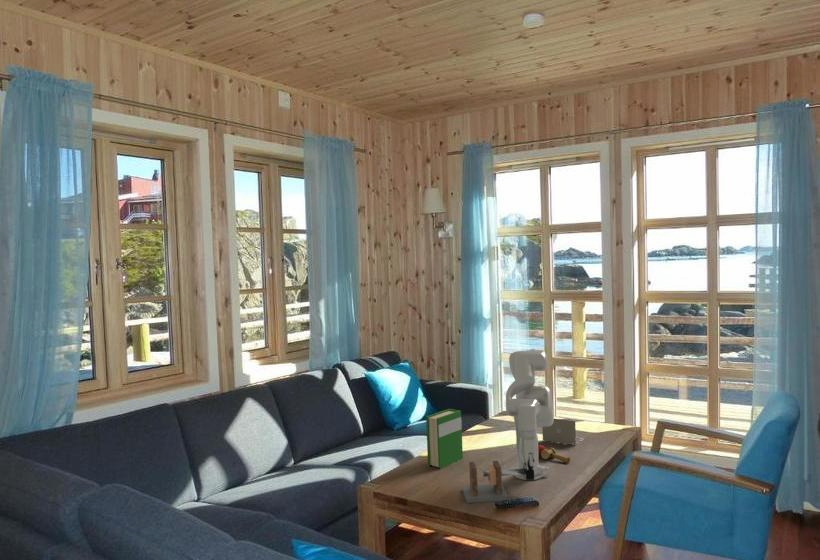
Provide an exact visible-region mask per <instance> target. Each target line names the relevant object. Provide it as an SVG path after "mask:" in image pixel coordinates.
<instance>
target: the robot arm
mask: <svg viewBox="0 0 820 560" xmlns="http://www.w3.org/2000/svg"><path fill="white" fill-rule="evenodd" d="M508 357H509V359H508V362H509V364H508V365H509V368H510V371H511V375H512V377H513V379H514V381H513V382H511V383H510V385H509V387H508V388H507V390H506V393H505V410H506V414H507V415H508V416H510V417H513V421H514V427H515V438H516V439H515V443H516V467H517V468H516V469H524V463H526V467H527V469H526V479H534V480H533V481H535V480H540V479H541V478H543V475H544V474H543V472H550V471H551V468H550V466H546V465H542V466H541V465H540V464H539V463H540V462H539V455H538V445H539V435H538V434H537V433H538V429H537V428H542V427H549V426H551V425H552V424H553V421H554V419H555V418H554V417H555V416H554V407H553V406H554V405H553V395H552V392H551V389H550V388H549V387H548V386H546V385H535V383H536V376H535V372H545V371H546V370H547V368H548V365H549V363H548V356H547V354H546V352H545V351H544V350H517V351H514V352H513V351H512V352H511V353H510V354H509V356H508ZM514 397H516V398H514ZM528 464H529V465H528ZM513 476H514V477H515V478H516V479H518V480H519V479H520V480H524V481H527V480H526V479H525V477H524V475H513Z"/></svg>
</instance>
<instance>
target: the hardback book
mask: <svg viewBox="0 0 820 560" xmlns="http://www.w3.org/2000/svg"><path fill="white" fill-rule="evenodd" d="M425 420H426V421H425V424H426V427H425V428H426V444H427V445H426V450H427V467H428V466H430V465H432V466H430V467H436V468H438V469H439V468H443V467H445V466H447V465H449V466H451V465H450V464H452V463H454V462H456V463H458V462H459V461H458V460H461V459H464V454H463V427H462V410H458V409H453V408H448V409H444V410H441V411H438V412H435V413H432V414H429V415H426V416H425ZM457 461H458V462H457ZM461 461H462V460H461ZM454 464H455V463H454ZM452 465H453V464H452ZM447 467H448V466H447ZM445 468H446V467H445ZM443 469H444V468H443Z"/></svg>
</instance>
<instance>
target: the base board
mask: <svg viewBox="0 0 820 560" xmlns="http://www.w3.org/2000/svg"><path fill="white" fill-rule="evenodd" d="M461 491H462V493H463V496H464V499H466V500H465V503H466V502H468V503H484V502H485V503H487V502H488V503H489V502H503V501H502V500H508V501H509V495H508V493H507V491H506V489H505V487H504V485H503V484H502V494H498V495H497V493H496V491H495V489H494V485H490V484H485V485H484V484H483V485H482V484H481V485H477V491H478V496H473V495H472V492H471V489H470V485H467V486H466V485H465V486H464V485H462V490H461ZM468 503H467V504H468Z"/></svg>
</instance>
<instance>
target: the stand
mask: <svg viewBox="0 0 820 560" xmlns="http://www.w3.org/2000/svg"><path fill="white" fill-rule="evenodd" d="M492 465H493V466H494V468H495V470H496V485H494V489H495V491H496V493H497V495H498V494H502V485H503V484H502V483H503V482H502V476H501V470H502V466H501V464H500V462H499V461H498V460H493V461H492ZM468 466H469V467H468V468H469V486H470V489H471V492H472V495H473V496H478V491H477V486H478V471H477V470H478V469H477V466H476V464H475V462H474V461H470V462H468Z"/></svg>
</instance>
